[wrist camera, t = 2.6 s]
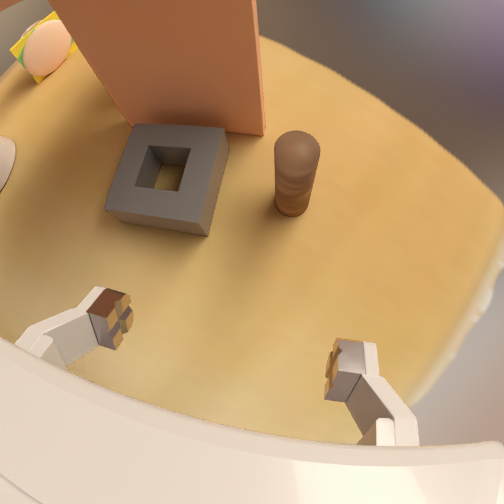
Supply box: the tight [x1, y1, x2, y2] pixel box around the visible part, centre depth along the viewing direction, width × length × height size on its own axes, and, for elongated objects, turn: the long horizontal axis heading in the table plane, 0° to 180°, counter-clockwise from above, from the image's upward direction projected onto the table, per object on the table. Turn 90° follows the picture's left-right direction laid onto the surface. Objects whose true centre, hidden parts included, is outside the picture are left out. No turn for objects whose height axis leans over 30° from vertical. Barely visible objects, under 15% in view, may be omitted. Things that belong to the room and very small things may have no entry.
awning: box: [0, 0, 266, 136], centre depth 25 cm, size 13×20×33 cm, turn 79°
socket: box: [104, 123, 230, 236], centre depth 38 cm, size 12×12×5 cm
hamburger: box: [10, 11, 78, 84], centre depth 44 cm, size 12×8×12 cm
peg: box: [274, 131, 320, 217], centre depth 33 cm, size 4×4×12 cm
